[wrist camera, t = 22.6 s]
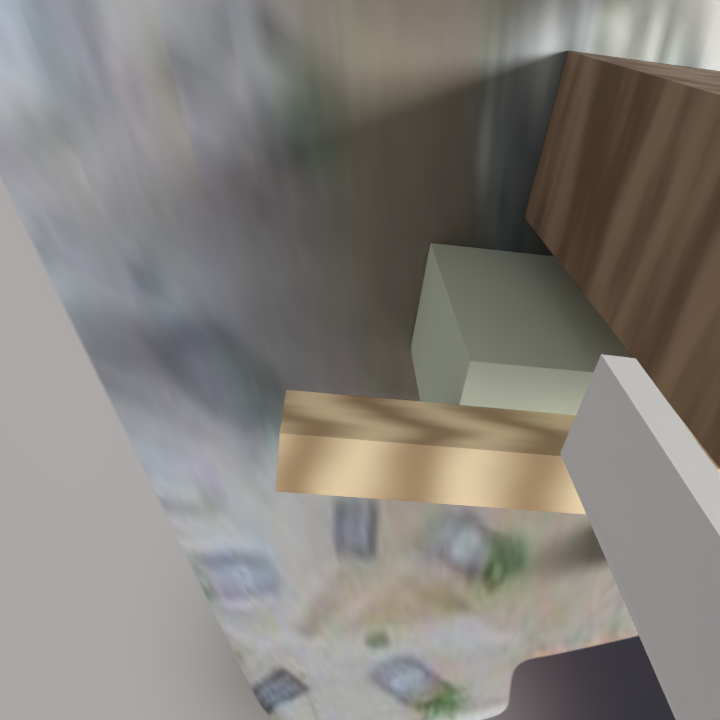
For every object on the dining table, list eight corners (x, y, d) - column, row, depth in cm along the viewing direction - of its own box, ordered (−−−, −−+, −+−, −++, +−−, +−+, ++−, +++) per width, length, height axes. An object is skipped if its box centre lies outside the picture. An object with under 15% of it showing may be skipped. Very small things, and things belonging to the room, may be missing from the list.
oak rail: (281, 444, 37) (275, 491, 34) (286, 389, 35) (279, 433, 32) (722, 480, 40) (758, 527, 36) (750, 430, 38) (790, 475, 34)
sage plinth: (410, 349, 55) (437, 494, 40) (430, 242, 50) (470, 361, 35) (583, 365, 57) (675, 512, 41) (619, 263, 52) (741, 386, 36)
